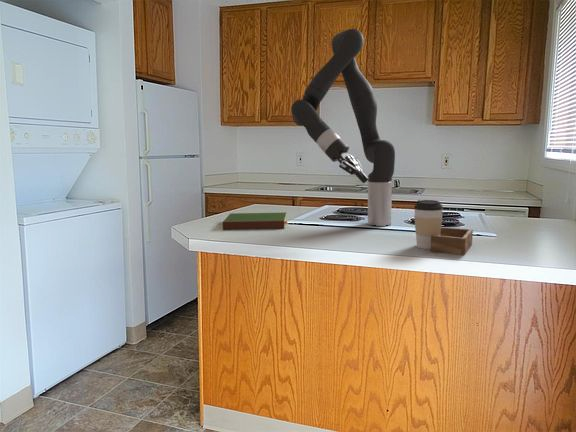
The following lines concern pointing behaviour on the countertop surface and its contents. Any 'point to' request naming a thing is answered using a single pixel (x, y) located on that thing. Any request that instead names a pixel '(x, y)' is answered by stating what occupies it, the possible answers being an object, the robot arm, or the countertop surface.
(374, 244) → the countertop surface
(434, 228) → the coffee cup
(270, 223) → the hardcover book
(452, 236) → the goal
